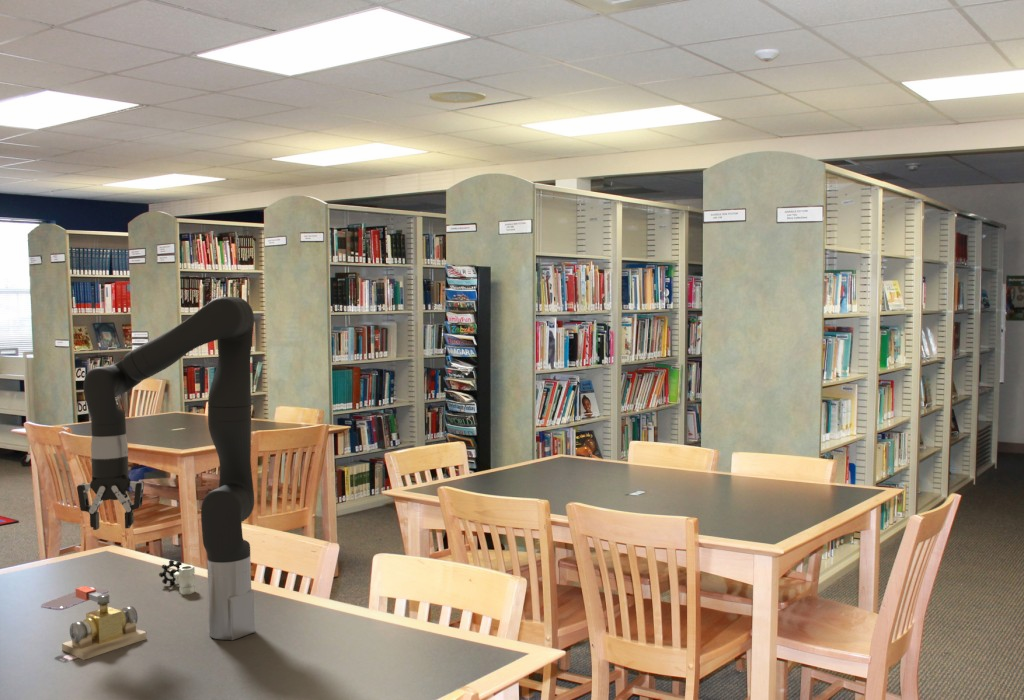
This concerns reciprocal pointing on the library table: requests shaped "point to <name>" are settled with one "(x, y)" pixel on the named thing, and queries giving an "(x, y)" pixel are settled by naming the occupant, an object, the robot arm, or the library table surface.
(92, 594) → the valve lever
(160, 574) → the valve
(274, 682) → the library table surface
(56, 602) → the mobile phone
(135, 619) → the valve body
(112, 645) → the pipe board
